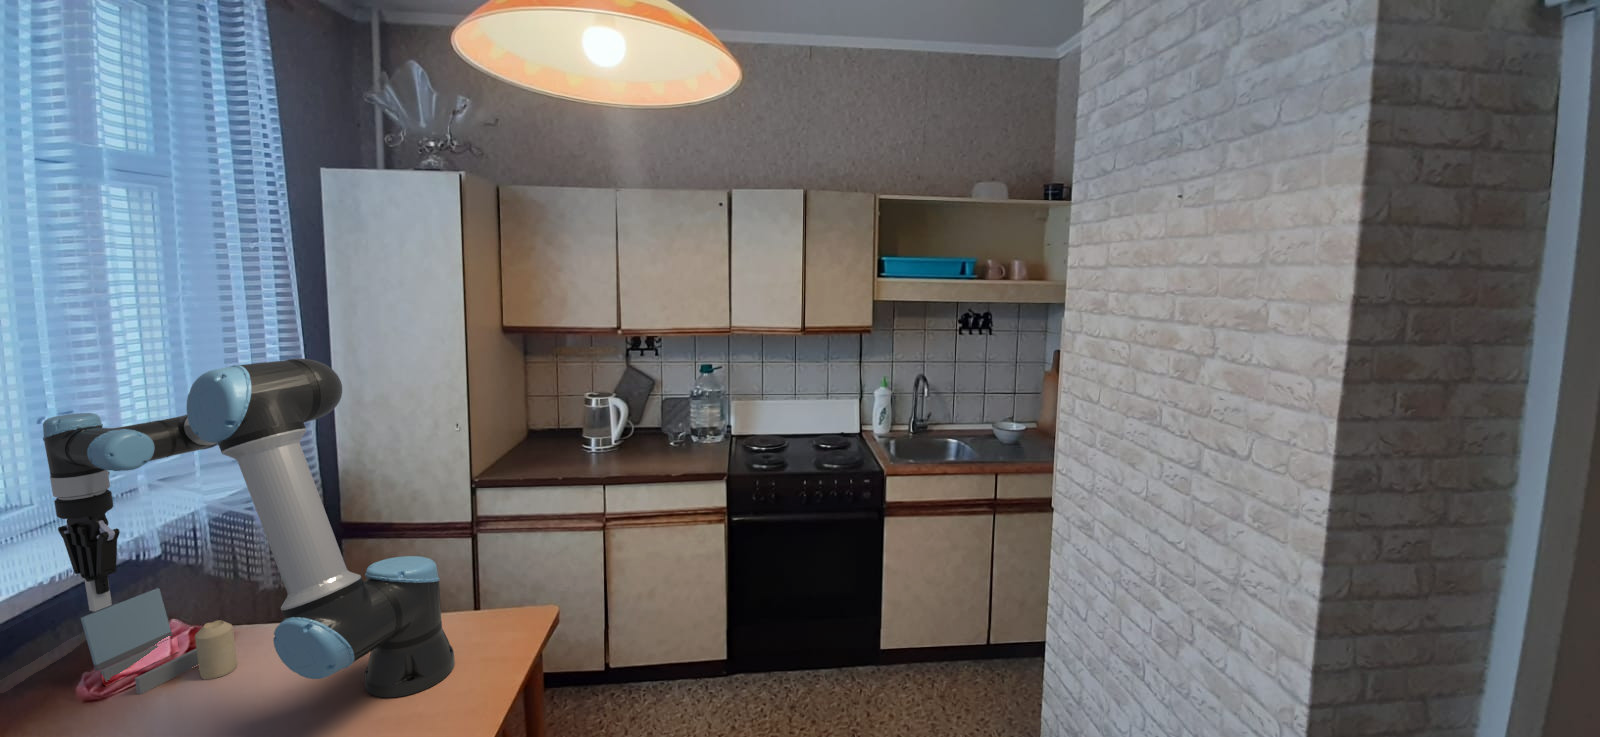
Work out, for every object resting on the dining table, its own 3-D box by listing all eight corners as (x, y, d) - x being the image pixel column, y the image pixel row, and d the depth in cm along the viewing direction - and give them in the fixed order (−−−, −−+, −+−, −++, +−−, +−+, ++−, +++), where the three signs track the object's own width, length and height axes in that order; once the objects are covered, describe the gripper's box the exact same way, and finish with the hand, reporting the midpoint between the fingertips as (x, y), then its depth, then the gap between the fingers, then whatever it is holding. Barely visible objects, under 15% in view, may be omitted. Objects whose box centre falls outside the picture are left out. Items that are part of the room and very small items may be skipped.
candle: (215, 681, 125) (209, 633, 124) (192, 677, 126) (185, 629, 125) (244, 665, 131) (239, 618, 129) (222, 661, 132) (216, 615, 130)
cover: (159, 588, 134) (156, 588, 134) (83, 617, 122) (80, 617, 123) (172, 636, 135) (169, 637, 135) (98, 670, 123) (95, 670, 124)
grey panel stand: (212, 657, 133) (210, 643, 132) (140, 694, 121) (138, 678, 121) (176, 650, 135) (174, 636, 135) (102, 685, 124) (100, 670, 123)
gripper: (131, 490, 129) (147, 602, 132) (84, 484, 132) (101, 594, 135) (81, 503, 121) (100, 621, 125) (33, 496, 125) (52, 612, 128)
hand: (100, 607), depth 130 cm, fingers closed
